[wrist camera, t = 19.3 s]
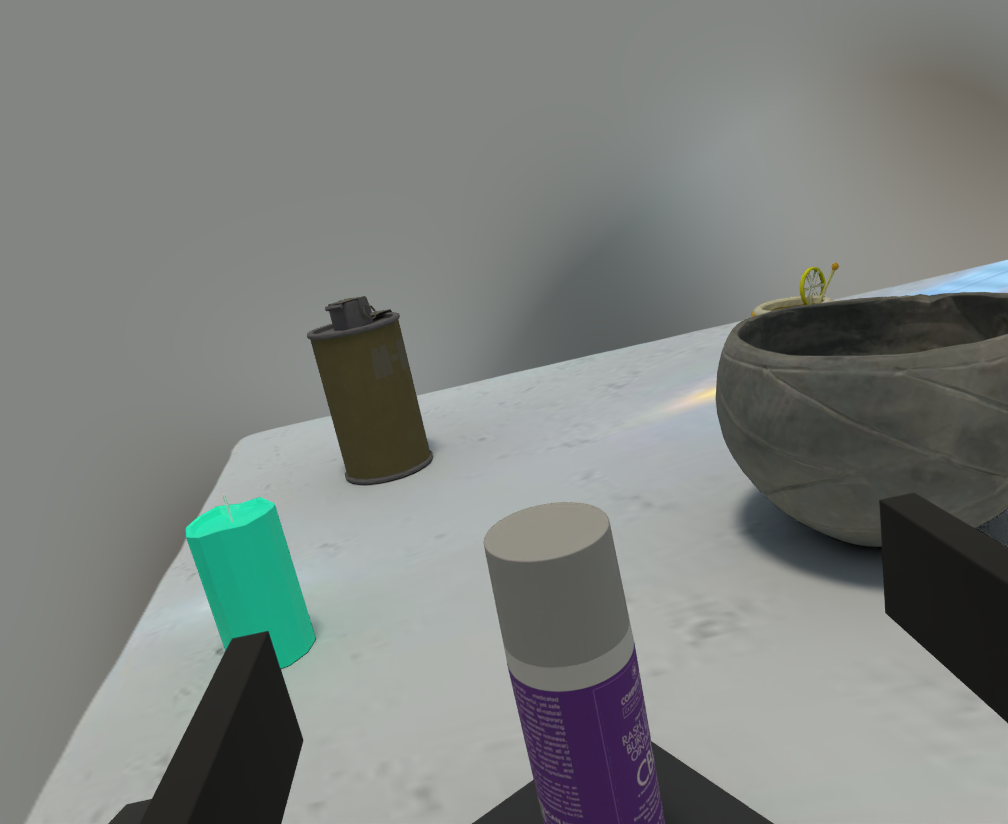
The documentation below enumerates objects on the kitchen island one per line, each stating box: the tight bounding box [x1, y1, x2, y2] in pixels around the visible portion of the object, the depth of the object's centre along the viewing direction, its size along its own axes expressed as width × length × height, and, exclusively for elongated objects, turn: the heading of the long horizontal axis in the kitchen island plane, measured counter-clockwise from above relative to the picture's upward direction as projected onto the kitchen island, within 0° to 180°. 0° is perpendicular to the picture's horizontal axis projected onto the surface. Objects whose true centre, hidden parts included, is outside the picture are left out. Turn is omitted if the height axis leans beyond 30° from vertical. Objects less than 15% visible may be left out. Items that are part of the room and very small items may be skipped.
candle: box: [186, 494, 316, 669], centre depth 50 cm, size 6×6×12 cm
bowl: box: [716, 292, 1008, 547], centre depth 50 cm, size 21×21×15 cm
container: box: [484, 502, 665, 824], centre depth 27 cm, size 5×5×15 cm
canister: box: [307, 296, 433, 485], centre depth 84 cm, size 11×10×20 cm
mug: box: [751, 263, 839, 317], centre depth 91 cm, size 13×11×12 cm
